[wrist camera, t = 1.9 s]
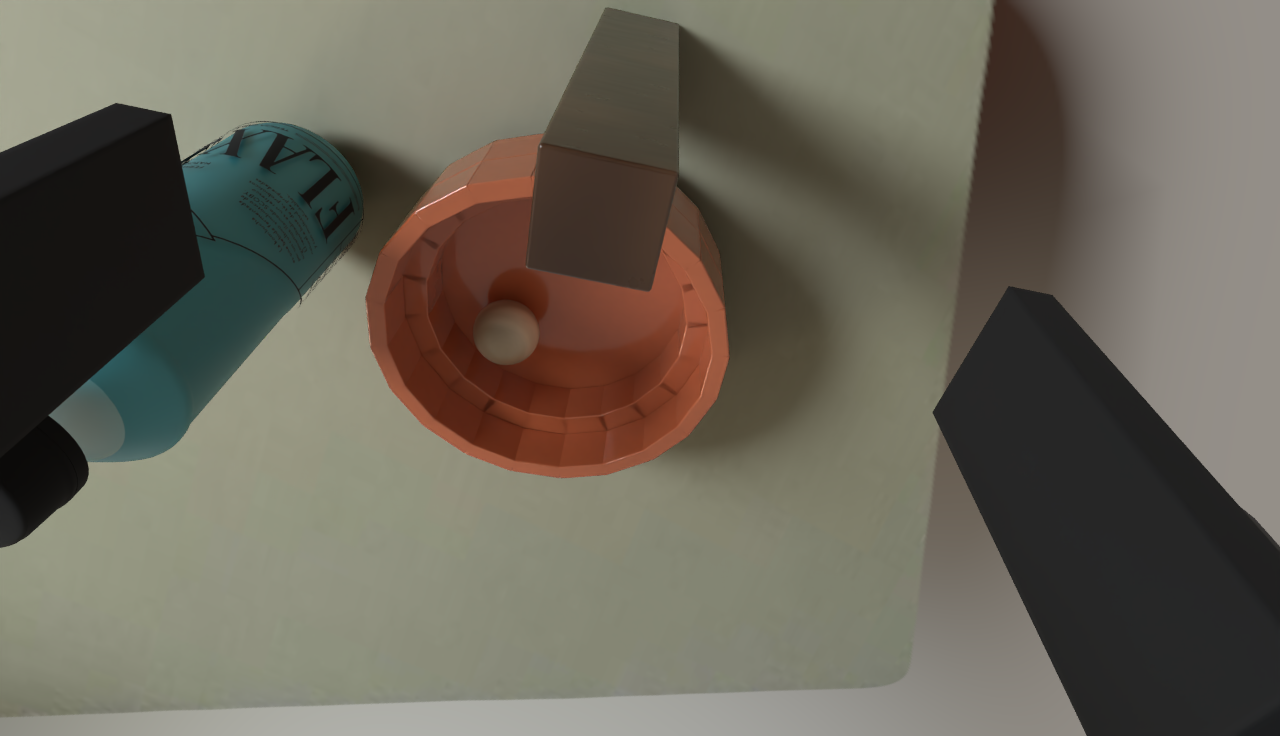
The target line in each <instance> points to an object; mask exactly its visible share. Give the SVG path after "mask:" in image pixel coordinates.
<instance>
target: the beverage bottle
mask: <svg viewBox="0 0 1280 736" xmlns="http://www.w3.org/2000/svg"><path fill="white" fill-rule="evenodd" d="M258 122H269V121H258ZM250 123H252V122H250ZM246 124H248V123H246ZM240 126H241V125H240ZM247 126H248V125H247ZM241 127H243V126H241ZM244 127H245V126H244ZM235 129H237V128H236V127H235ZM233 130H234V129H233ZM230 131H232V130H230ZM232 132H234V131H232ZM227 133H228V132H227ZM227 133H226V134H227ZM222 136H223V135H222ZM222 136H221V137H222ZM221 137H220V139H217V140H216V141H215V140H214V141H215V142H214V141H212V144H213V142H214V144H215V143H216V142H218V141H220V140H221V139H222V138H221ZM210 144H211V143H210ZM210 144H209V145H207V146H204V148H202V149H199V151H197V152H196V153H195V152H194V154H193V155H191V156H189V157H188V158H186V159H184V160H183V161H181V164H182V163H183V162H185V161H186V162H185V163H183V164H182V169H183V174H184V178H185V183H186V188H187V193H188V198H189V202H190V207H191V212H192V217H193V222H194V226H195V231H196V236H197V241H198V246H199V250H200V255H201V260H202V265H203V270H204V274H205V278H204V279H202V280H201V281H200V282H199V283H198V284H197V285H196V286H195V287H193V288H192V289H191V290H190V291H189V292H188V293H187V294H185V295H184V296H183V297H182V298H181V299H180V300H179V301H178V302H176V303H175V304H174V305H173V306H172V307H171V308H170V309H168V310H167V311H166V312H165V313H164V314H163V315H162V316H161V317H159V318H158V319H157V320H156V321H155V322H154V323H153V324H151V325H150V326H149V327H148V328H147V329H146V330H145V331H144V332H142V333H141V334H140V335H139V336H138V337H137V338H136V339H134V340H133V341H132V342H131V343H130V344H129V345H128V346H127V347H125V348H124V349H123V350H122V351H121V352H120V353H119V354H117V355H116V356H115V357H114V358H113V359H112V360H111V361H110V362H108V363H107V364H106V365H105V366H104V367H103V368H102V369H100V370H99V371H98V372H97V373H96V374H95V375H94V376H93V377H91V378H90V379H89V380H88V381H87V382H86V383H85V384H83V385H82V386H81V387H80V388H79V389H78V390H77V391H76V392H74V393H73V394H72V395H71V396H70V397H69V398H68V399H66V400H65V401H64V402H63V403H62V404H61V405H60V406H59V407H57V408H56V409H55V410H54V411H53V412H52V413H51V414H49V415H48V416H47V417H46V418H45V419H44V420H43V421H42V422H40V423H39V424H38V425H37V426H36V427H35V428H34V429H32V430H31V431H30V432H29V433H28V434H27V435H26V436H25V437H23V438H22V439H21V440H20V441H19V442H18V443H17V444H15V445H14V446H13V447H12V448H11V449H10V450H9V451H8V452H6V453H5V454H4V455H3V456H2V457H1V458H0V548H1V547H6V546H10V545H13V544H15V543H17V542H19V541H20V540H22V539H24V538H25V537H27V536H28V535H29V534H30V533H32V532H33V531H34V530H35V529H36V528H37V527H38V526H39V525H40V524H42V523H43V522H44V521H45V520H46V519H47V518H48V517H49V516H50V515H51V514H53V513H54V512H55V511H56V510H57V509H59V508H61V507H62V506H64V505H65V504H66V503H67V502H68V501H70V500H71V499H72V498H73V497H74V496H75V494H76V493H77V492H78V491H79V490H80V489H81V488H82V487H83V486H84V485H85V483H86V481H87V479H88V475H89V468H88V463H87V462H125V461H135V460H142V459H147V458H151V457H154V456H156V455H159V454H161V453H163V452H165V451H167V450H168V449H170V448H172V447H173V446H174V445H175V444H176V443H177V442H178V441H179V440H180V439H181V438H182V437H183V436H184V434H185V433H186V431H187V430H188V428H189V425H190V423H191V422H192V421H193V420H194V419H195V418H196V417H197V415H198V414H199V413H200V412H201V411H202V410H203V408H204V407H205V406H206V405H207V404H208V403H209V401H210V400H211V399H212V398H213V397H214V396H215V395H216V393H217V392H218V391H219V390H220V389H221V388H222V386H223V385H224V384H225V383H226V382H227V381H228V379H229V378H230V377H231V376H232V375H233V374H234V373H235V371H236V370H237V369H238V368H239V367H240V366H241V364H242V363H243V362H244V361H245V360H246V359H247V357H248V356H249V355H250V354H251V353H252V352H253V351H254V349H255V348H256V347H257V346H258V345H259V344H260V342H261V341H262V340H263V339H264V338H265V337H266V335H267V334H268V333H269V332H270V331H271V330H272V329H273V327H274V326H275V325H276V324H277V323H278V322H279V320H280V319H281V318H282V317H283V316H284V315H285V314H286V313H287V312H288V311H289V310H290V309H291V308H292V307H293V306H294V305H295V304H296V303H297V302H298V301H299V300H300V299H301V301H302V298H301V297H302V296H303V295H304V294H305V293H306V292H307V291H308V289H309V288H310V287H311V288H312V286H313V284H314V283H315V281H316V280H317V282H319V280H318V278H320V276H321V275H322V274H323V272H324V271H325V272H327V271H326V269H327V270H328V267H329V266H330V265H331V263H332V262H333V261H334V260H335V261H336V258H337V257H338V258H339V256H338V255H340V253H341V252H342V253H344V255H345V252H346V250H345V252H343V250H344V249H347V248H346V246H347V247H349V246H348V244H349V243H351V244H353V243H352V242H353V238H354V239H355V236H356V233H357V231H358V229H359V227H360V223H361V221H362V220H363V219H362V213H363V218H364V209H363V196H362V190H361V187H360V183H359V181H358V178H357V176H356V174H355V172H354V170H353V169H352V167H351V166H350V164H349V163H348V161H347V160H346V159H345V158H344V157H343V155H342V154H341V153H340V152H339V151H338V150H337V149H336V148H335V147H333V146H332V145H331V144H330V143H329V142H327V141H326V140H324V139H323V138H321V137H320V136H318V135H317V134H315V133H313V132H311V131H309V130H306V129H304V128H301V127H298V126H295V125H292V124H286V123H277V122H273V123H262V124H255V125H251V126H250V125H249V126H248V127H245V128H243V129H240V130H236V132H235V133H234V134H233V135H231V136H229V137H228V138H226V139H225V140H223V141H221V142H220V143H219V142H218V143H217V144H216V145H215V146H213V145H212V146H213V147H211V148H210V149H208V150H207V148H208V147H209V146H210ZM205 149H206V150H207V151H206V150H205ZM203 150H205V152H204V153H202V154H199V156H197V157H196V158H194V159H192V160H191V161H188V160H189V159H190V158H192V157H193V156H195V155H196V154H198V153H200V152H201V151H203ZM187 161H188V162H187ZM361 219H362V220H361ZM362 225H363V221H362ZM361 229H362V227H361ZM360 232H361V231H360ZM357 235H358V234H357ZM356 238H357V237H356ZM351 241H352V242H351ZM349 245H350V244H349ZM351 246H352V245H351ZM349 248H350V247H349ZM347 251H348V249H347ZM341 255H343V254H341ZM344 255H343V256H344ZM340 257H342V256H340ZM339 259H341V258H339ZM337 260H338V259H337ZM335 261H334V262H335ZM338 261H339V260H338ZM336 262H337V261H336ZM335 264H337V263H335ZM333 265H334V264H333ZM334 266H335V265H334ZM332 267H333V266H332ZM329 271H330V270H329ZM324 274H326V273H324ZM327 274H328V273H327ZM324 277H325V275H324ZM324 277H323V278H324ZM321 278H322V277H321ZM323 278H322V279H323ZM322 279H320V280H322ZM317 282H316V284H317ZM320 282H321V281H320ZM316 284H315V285H316ZM316 286H317V285H316ZM313 287H314V286H313ZM312 289H313V288H312ZM314 289H315V288H314ZM308 295H309V294H308ZM307 297H308V296H307ZM307 297H306V298H307ZM300 305H301V302H300Z"/></svg>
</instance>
